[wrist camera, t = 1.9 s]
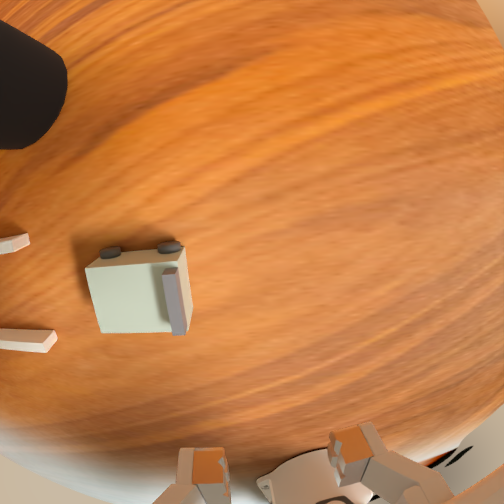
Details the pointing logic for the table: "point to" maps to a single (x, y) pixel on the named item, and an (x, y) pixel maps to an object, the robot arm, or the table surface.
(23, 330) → the dock bay
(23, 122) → the coffee jar
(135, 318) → the sage cart
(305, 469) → the robot arm
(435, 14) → the table surface
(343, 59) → the table surface
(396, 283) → the table surface
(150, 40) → the table surface
